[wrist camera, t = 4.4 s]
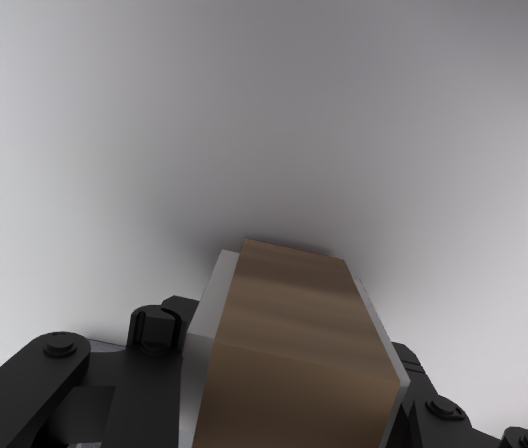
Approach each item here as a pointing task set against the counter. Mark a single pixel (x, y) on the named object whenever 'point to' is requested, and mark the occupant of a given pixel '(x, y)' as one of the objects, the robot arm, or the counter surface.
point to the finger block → (295, 358)
